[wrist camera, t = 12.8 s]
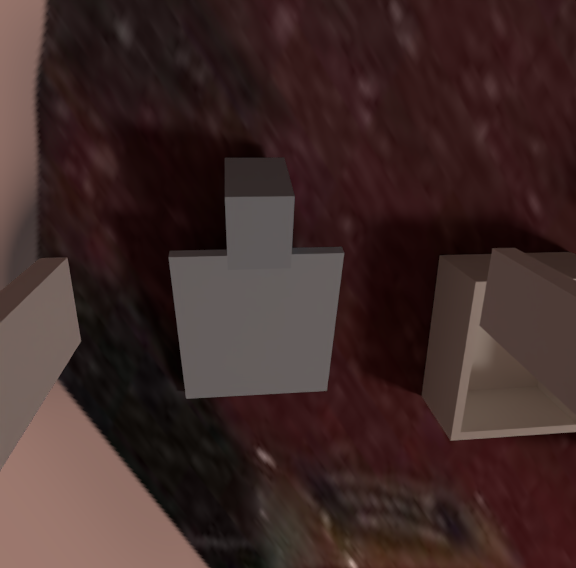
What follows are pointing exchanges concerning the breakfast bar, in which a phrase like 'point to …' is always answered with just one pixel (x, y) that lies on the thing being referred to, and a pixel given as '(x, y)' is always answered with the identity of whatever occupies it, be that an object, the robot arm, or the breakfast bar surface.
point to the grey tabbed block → (256, 295)
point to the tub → (483, 361)
